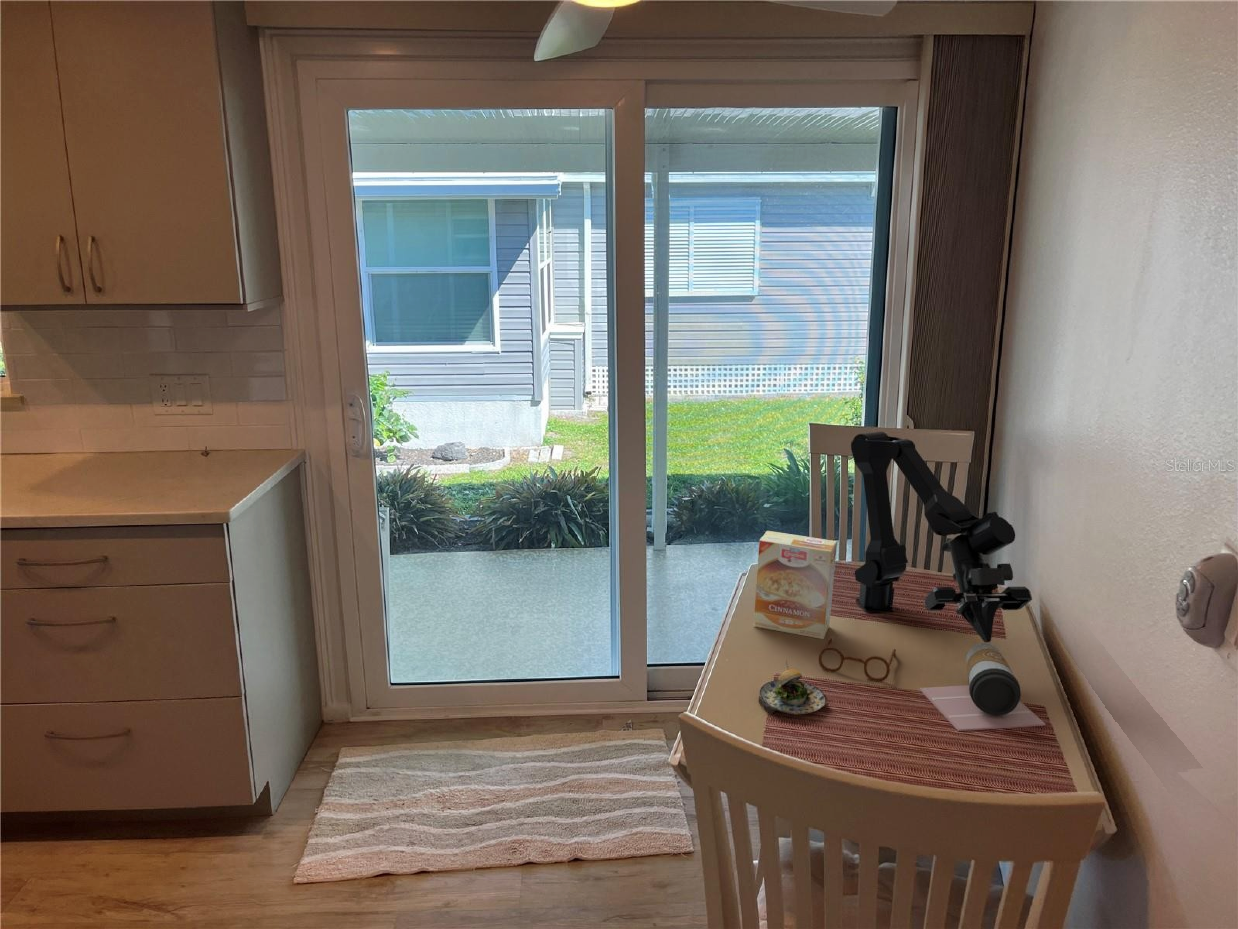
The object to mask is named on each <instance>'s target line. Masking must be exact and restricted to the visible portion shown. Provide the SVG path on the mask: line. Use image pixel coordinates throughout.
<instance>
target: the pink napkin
mask: <svg viewBox="0 0 1238 929" xmlns="http://www.w3.org/2000/svg"><path fill="white" fill-rule="evenodd" d="M969 686H970V684H969V685H952V686H950V685H949V686H934V687H932V686H929V687H919V691H920V692H921V693H922V694H923V695H924V696H925V697H926V698H927V700H929V701H930V703H932V704H933V706H934V707H935V708H936V709H937V710H938V711H939V713H941V715H942V716H943V717H945V719H946V720H947V721H948V722H949V723H950V724H951V725H952V726H953V727H954V729H957V731H958V732H963V731H964V732H965V731H980V730H981V731H982V730H998V729H1008V728H1009V729H1011V728H1012V729H1013V728H1027V727H1028V728H1029V727H1045V726H1046V723H1045V722H1044V721H1043V720H1041V718H1039V717H1038V716H1037V715H1036V713H1034V712H1033V711H1032V710H1031V709H1030V708H1029V707H1027V706H1026V705H1025V704H1024V703H1023V702H1022V701H1021V700H1020V701H1019V703H1018V705H1017V706H1016V708H1015V709H1014V710H1013V711H1012V712H1010V713H1008V714H1005V715H1001V716H994V715H990V714H987V713H985V712H983V711H982V710H980V709H979V708H978V707H977V706H976V705H975V704H974V702H973V700H972V699H971V696H970V693H969Z"/></svg>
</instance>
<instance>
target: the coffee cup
mask: <svg viewBox="0 0 1238 929" xmlns="http://www.w3.org/2000/svg"><path fill="white" fill-rule="evenodd" d="M965 658H966V672H967V680H968V684H969V685H970V686H969V693H970V696H971V699H972V700H973V702H974V704H975V705H976V706H977V707H978V708H979V709H980V710H982V711H983V712H985V713H987V714H990V715H994V716H1001V715H1005V714H1008V713H1010V712H1012V711H1013V710H1014V709H1015V708H1016V706H1017V705H1018V703H1019V701H1021V696H1022V695H1021V694H1022V693H1021V685H1020V683H1019V681H1018V679H1017V678H1016V677H1015V675H1014V674H1013V671H1012V669H1011V667H1010V665H1009V664H1008V662H1007V660H1006V658H1005V657H1004V656H1003V654H1002V652H1001V651H1000V649H999V648H998V647H996V646H995V645H993V644H989V643H980V644H975V645H974V646H973V647H971V648H970V649H969V650H968V652H967V654H966V657H965Z"/></svg>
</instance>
